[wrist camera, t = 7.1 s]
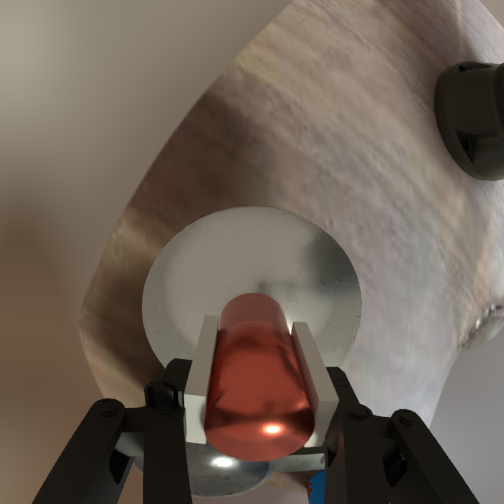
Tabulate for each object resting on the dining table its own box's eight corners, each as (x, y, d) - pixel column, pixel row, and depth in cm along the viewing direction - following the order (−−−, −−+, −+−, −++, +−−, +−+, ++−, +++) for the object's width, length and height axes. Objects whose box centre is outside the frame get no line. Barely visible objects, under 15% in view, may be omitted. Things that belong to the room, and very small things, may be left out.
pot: (146, 341, 30) (113, 405, 20) (352, 353, 32) (390, 414, 21) (155, 425, 33) (138, 487, 23) (326, 433, 35) (346, 492, 24)
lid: (150, 196, 18) (49, 219, 7) (370, 217, 18) (480, 257, 8) (153, 382, 21) (113, 489, 10) (330, 394, 21) (369, 497, 11)
